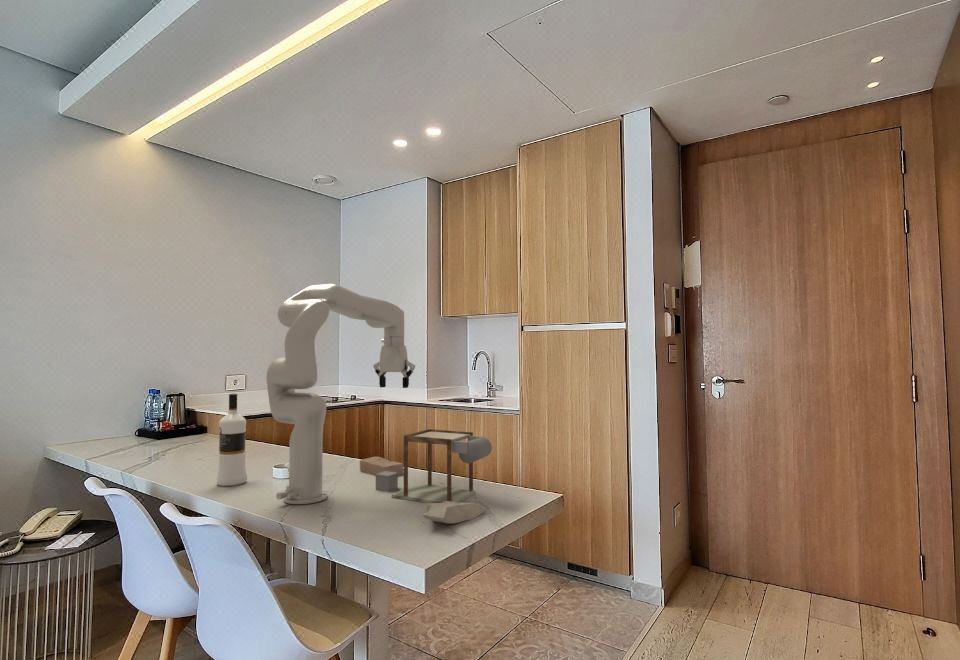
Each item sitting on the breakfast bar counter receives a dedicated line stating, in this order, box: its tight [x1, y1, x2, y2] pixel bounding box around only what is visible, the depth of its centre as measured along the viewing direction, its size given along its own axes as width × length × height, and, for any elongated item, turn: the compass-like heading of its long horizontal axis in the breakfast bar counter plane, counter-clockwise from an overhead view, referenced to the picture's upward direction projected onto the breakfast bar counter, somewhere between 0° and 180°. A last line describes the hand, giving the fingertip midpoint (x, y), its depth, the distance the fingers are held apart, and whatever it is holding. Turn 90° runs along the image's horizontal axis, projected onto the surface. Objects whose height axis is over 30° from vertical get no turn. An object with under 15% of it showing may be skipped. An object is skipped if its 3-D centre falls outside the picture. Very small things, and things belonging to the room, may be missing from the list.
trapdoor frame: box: [390, 428, 476, 504], centre depth 162 cm, size 21×15×19 cm
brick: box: [359, 456, 404, 477], centre depth 192 cm, size 17×8×5 cm, turn 47°
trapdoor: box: [416, 431, 493, 464], centre depth 160 cm, size 22×12×6 cm, turn 64°
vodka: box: [216, 393, 248, 487], centre depth 178 cm, size 9×9×30 cm
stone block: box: [375, 471, 399, 492], centre depth 170 cm, size 5×5×5 cm
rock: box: [422, 501, 487, 525], centre depth 140 cm, size 21×5×15 cm
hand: (393, 387), depth 198 cm, fingers open, 9 cm apart
